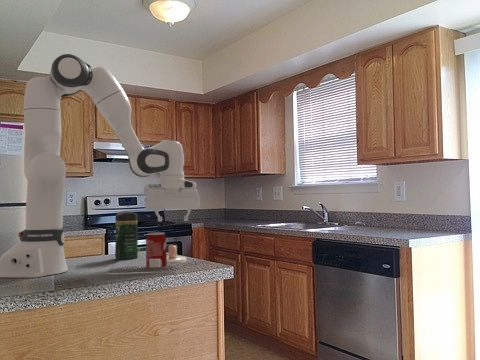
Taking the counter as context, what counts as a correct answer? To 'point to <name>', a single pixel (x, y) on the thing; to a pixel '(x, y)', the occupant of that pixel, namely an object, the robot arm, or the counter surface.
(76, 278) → the counter surface
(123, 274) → the counter surface
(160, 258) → the soda can
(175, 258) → the lid
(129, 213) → the coffee jar
